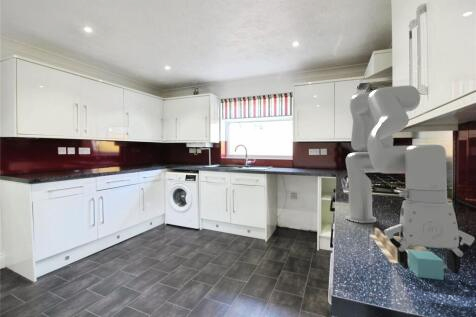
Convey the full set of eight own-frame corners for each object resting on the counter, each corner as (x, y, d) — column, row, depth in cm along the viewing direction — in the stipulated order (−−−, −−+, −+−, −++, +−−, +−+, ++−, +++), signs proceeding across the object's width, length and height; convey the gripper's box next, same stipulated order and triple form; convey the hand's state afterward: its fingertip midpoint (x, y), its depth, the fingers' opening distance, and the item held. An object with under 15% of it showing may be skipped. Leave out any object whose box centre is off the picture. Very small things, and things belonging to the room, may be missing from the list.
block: (408, 249, 57) (417, 258, 52) (431, 251, 56) (443, 260, 51) (408, 272, 57) (418, 283, 53) (432, 275, 56) (443, 286, 51)
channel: (369, 238, 81) (369, 227, 81) (408, 241, 77) (408, 229, 77) (390, 267, 60) (390, 252, 60) (445, 273, 56) (445, 258, 56)
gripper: (388, 198, 52) (390, 271, 52) (484, 200, 47) (486, 282, 47) (379, 193, 59) (381, 257, 59) (460, 195, 54) (462, 265, 54)
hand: (427, 268), depth 53 cm, fingers open, 9 cm apart
